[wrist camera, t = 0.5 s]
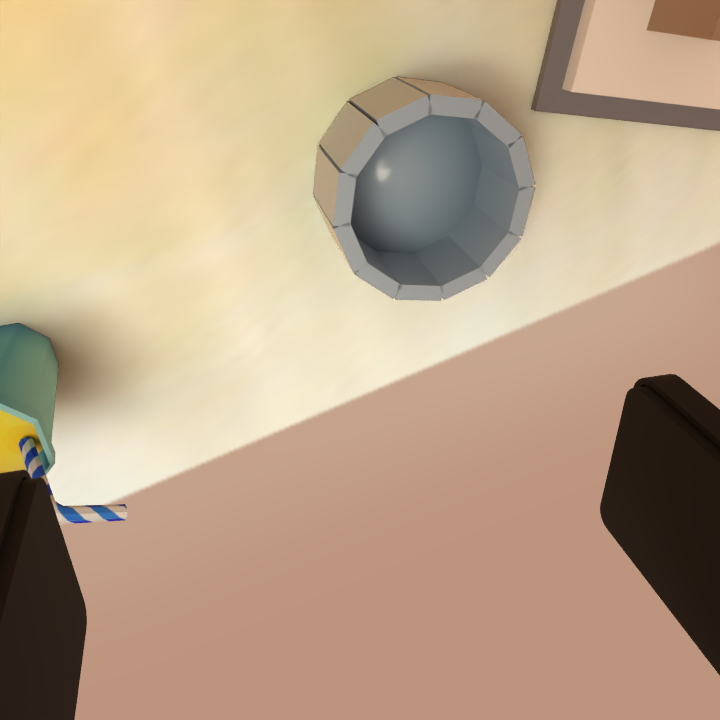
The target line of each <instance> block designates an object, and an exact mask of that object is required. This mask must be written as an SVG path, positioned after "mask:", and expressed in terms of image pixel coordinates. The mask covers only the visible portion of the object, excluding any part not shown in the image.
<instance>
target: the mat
mask: <svg viewBox="0 0 720 720" xmlns="http://www.w3.org/2000/svg"><path fill="white" fill-rule="evenodd" d="M584 2H585V0H558V1H557V5H556V9H555V13H554V17H553V21H552V26H551V30H550V34H549V38H548V42H547V46H546V50H545V54H544V59H543V63H542V67H541V71H540V75H539V79H538V83H537V88H536V92H535V96H534V100H533V104H532V108H531V109H532V110H535V111H541V112H551V113H560V114H569V115H578V116H587V117H597V118H606V119H615V120H624V121H633V122H643V123H652V124H661V125H670V126H679V127H688V128H698V129H707V130H716V131H720V110H719V109H711V108H703V107H694V106H686V105H678V104H669V103H661V102H652V101H644V100H636V99H627V98H619V97H610V96H602V95H594V94H585V93H577V92H570V91H567V90H564V89H562V87H563V83H564V79H565V76H566V72H567V68H568V64H569V60H570V56H571V52H572V49H573V45H574V41H575V37H576V33H577V29H578V25H579V22H580V18H581V14H582V10H583V6H584Z"/></svg>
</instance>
